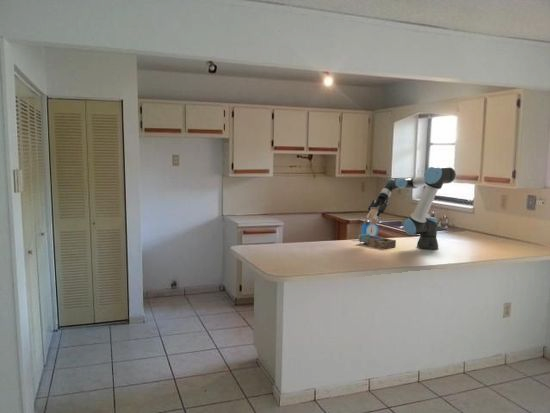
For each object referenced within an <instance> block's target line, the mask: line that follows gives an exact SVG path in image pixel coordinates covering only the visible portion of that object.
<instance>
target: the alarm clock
mask: <svg viewBox="0 0 550 413" xmlns="http://www.w3.org/2000/svg"><path fill="white" fill-rule="evenodd" d="M360 230H361V235H364V234H370V235H371V236H377V237H378V233H379V230H380V229H379V226H378V223H377V224H372V223H370V219H366V220H364V221H363V224H362V226H361V229H360Z"/></svg>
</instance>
